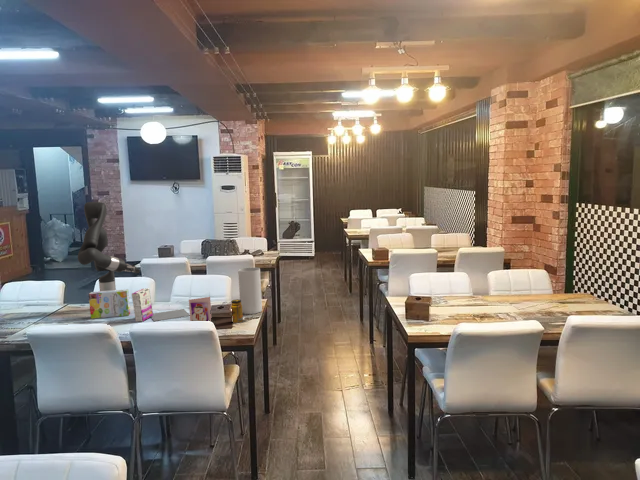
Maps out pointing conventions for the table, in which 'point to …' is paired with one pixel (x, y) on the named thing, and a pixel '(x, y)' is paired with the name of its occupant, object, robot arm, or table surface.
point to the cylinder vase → (250, 290)
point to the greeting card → (200, 309)
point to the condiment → (237, 312)
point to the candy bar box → (142, 305)
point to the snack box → (109, 303)
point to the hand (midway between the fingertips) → (138, 271)
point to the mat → (169, 315)
